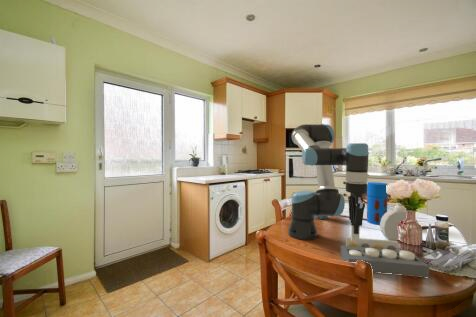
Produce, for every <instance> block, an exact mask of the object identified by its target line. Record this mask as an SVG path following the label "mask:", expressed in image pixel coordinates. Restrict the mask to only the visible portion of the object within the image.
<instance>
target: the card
mask: <svg viewBox="0 0 476 317" xmlns="http://www.w3.org/2000/svg"><path fill="white" fill-rule="evenodd" d="M345 239H346V240H345V246H354V247H366V248H379V249H391V250H399V241H397V240H388V239H378V238H377V239H375V238H362V237H361V238H360V237H359V242H355V241H351V236H350V237H349V236H347V237H346V238H345Z"/></svg>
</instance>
